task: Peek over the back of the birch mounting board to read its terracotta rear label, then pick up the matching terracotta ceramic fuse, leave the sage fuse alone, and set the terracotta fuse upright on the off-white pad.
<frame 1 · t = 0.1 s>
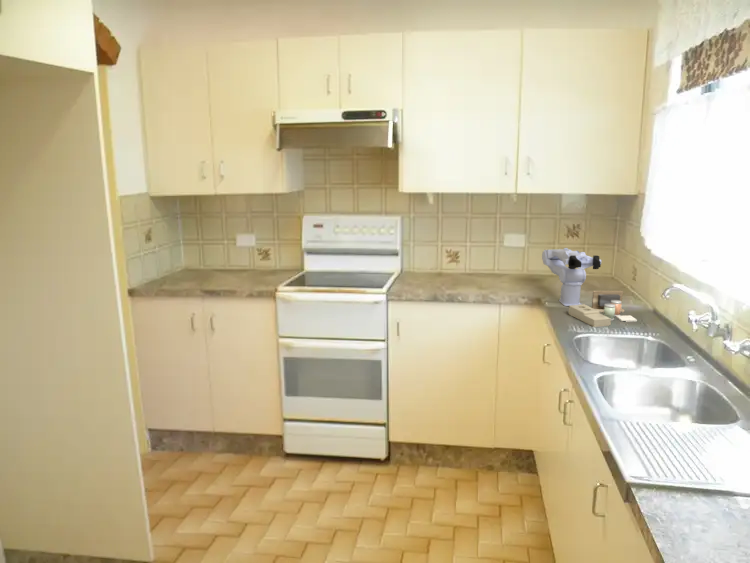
hand: (590, 264, 229), 22 cm above the counter, tool horizontal, fingers open, 7 cm apart
terracotta fuse: (614, 315, 235), on the counter
sage fuse: (608, 319, 230), on the counter
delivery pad: (626, 319, 230), on the counter
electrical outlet: (588, 320, 230), on the counter
junction unit: (607, 310, 242), on the counter
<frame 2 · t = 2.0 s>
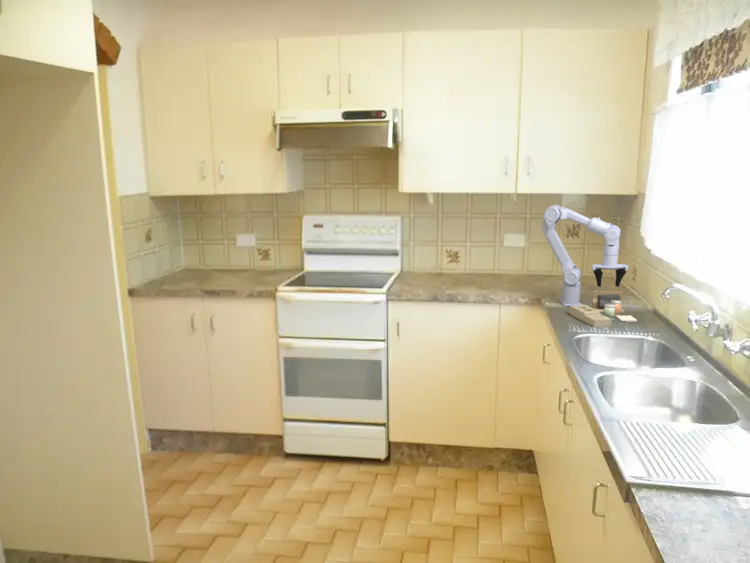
hand: (608, 286, 243), 9 cm above the counter, tool pointing down, fingers open, 7 cm apart
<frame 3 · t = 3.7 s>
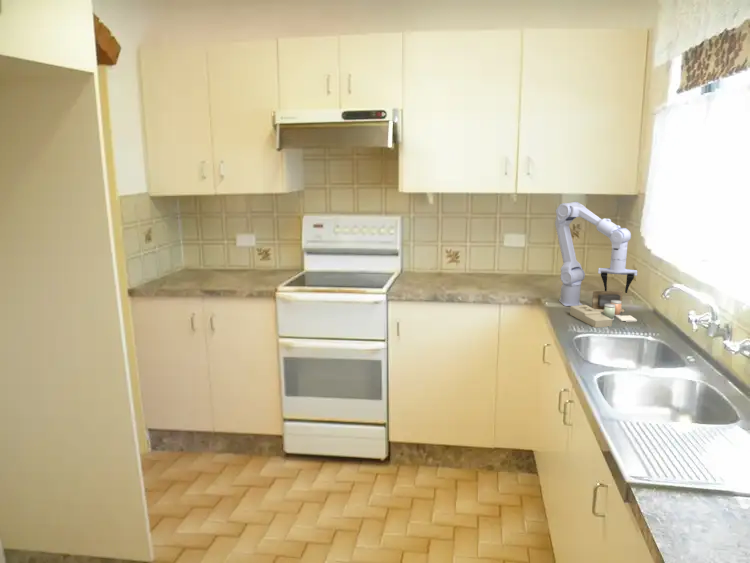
hand: (615, 291, 235), 9 cm above the counter, tool pointing down, fingers open, 7 cm apart
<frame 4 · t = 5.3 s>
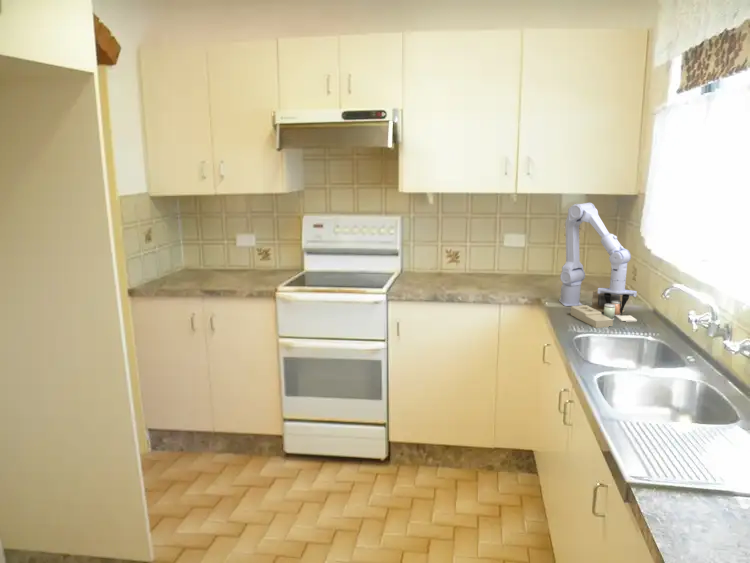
hand: (615, 311, 235), 1 cm above the counter, tool pointing down, fingers closed on terracotta fuse, 4 cm apart
terracotta fuse: (614, 315, 235), on the counter, touching gripper
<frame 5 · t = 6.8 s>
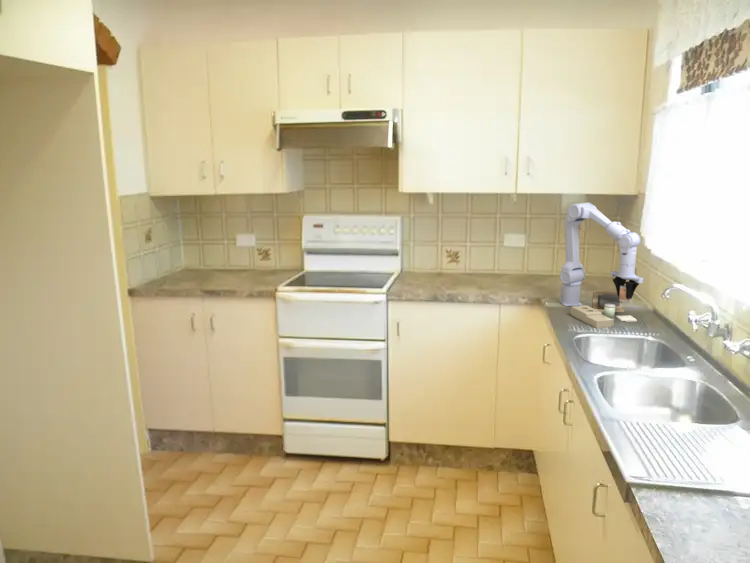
hand: (624, 297, 230), 9 cm above the counter, tool pointing down, fingers closed on terracotta fuse, 4 cm apart
terracotta fuse: (624, 300, 230), point 7 cm above the counter, touching gripper
when the fingers open (3 cm above the counter, at t = 8.3 s): terracotta fuse drops 1 cm, resting on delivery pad.
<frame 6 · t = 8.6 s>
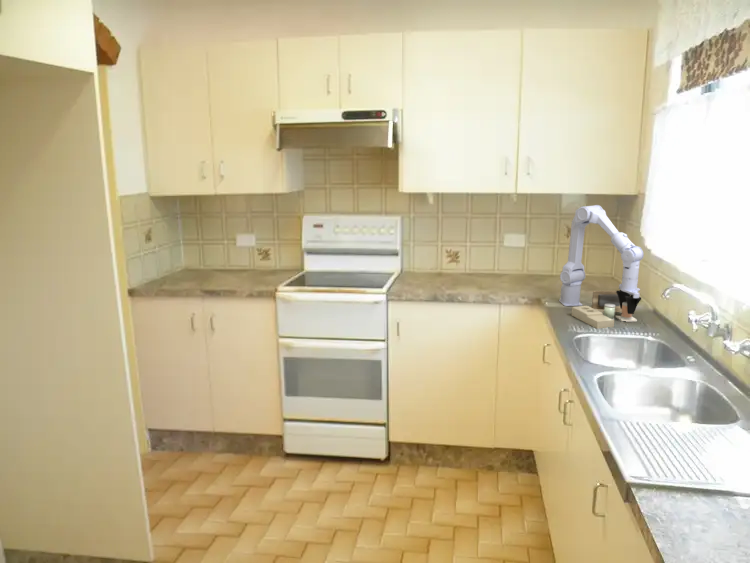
hand: (626, 311, 229), 3 cm above the counter, tool pointing down, fingers open, 7 cm apart
terracotta fuse: (626, 317, 230), point 1 cm above the counter, touching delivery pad
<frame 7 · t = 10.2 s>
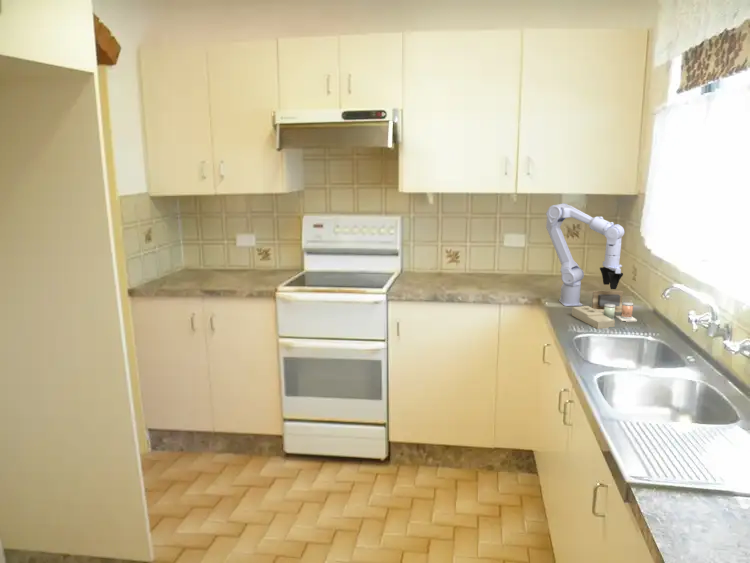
hand: (609, 286, 239), 10 cm above the counter, tool pointing down, fingers open, 7 cm apart
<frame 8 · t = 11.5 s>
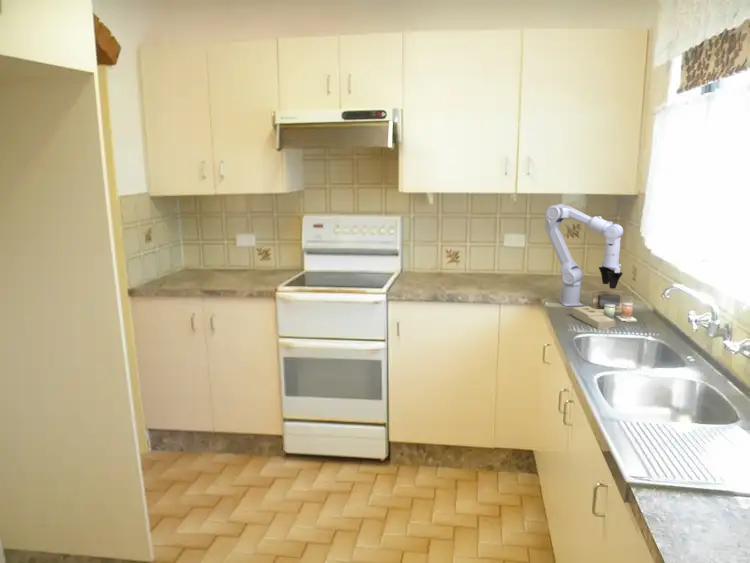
hand: (609, 286, 240), 10 cm above the counter, tool pointing down, fingers open, 7 cm apart
at the end: terracotta fuse 0.0 cm off-centre on the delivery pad, point 0.7 cm above the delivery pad's base; terracotta fuse tilted 2°; sage fuse moved 0.0 cm from its start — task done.
